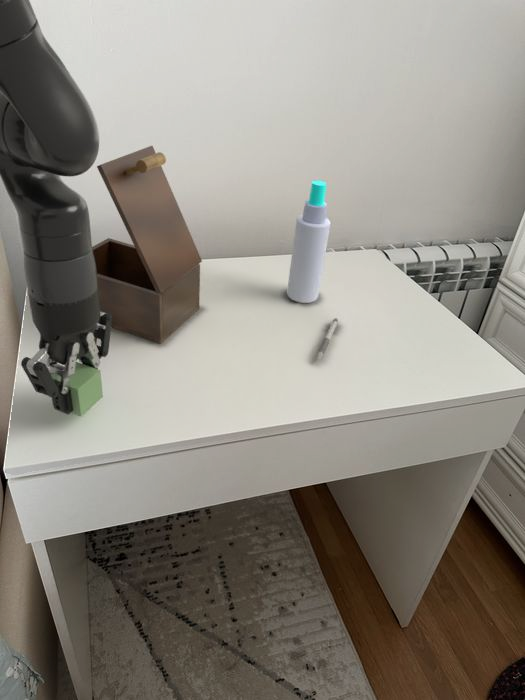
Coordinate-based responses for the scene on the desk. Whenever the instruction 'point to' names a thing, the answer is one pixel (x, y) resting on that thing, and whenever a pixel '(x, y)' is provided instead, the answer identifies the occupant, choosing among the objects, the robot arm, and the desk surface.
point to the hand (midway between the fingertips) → (77, 399)
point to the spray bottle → (309, 247)
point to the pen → (327, 339)
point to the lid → (151, 215)
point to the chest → (141, 293)
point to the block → (84, 388)
